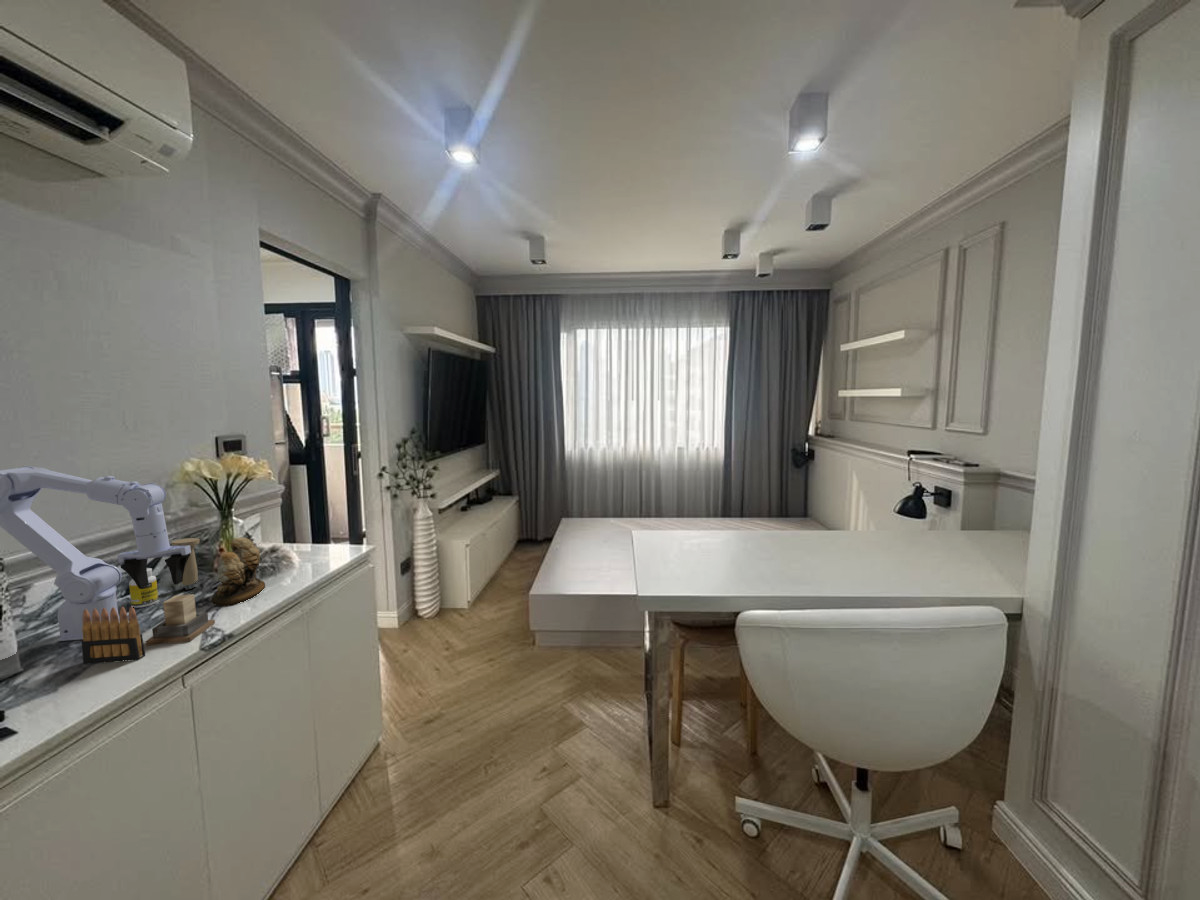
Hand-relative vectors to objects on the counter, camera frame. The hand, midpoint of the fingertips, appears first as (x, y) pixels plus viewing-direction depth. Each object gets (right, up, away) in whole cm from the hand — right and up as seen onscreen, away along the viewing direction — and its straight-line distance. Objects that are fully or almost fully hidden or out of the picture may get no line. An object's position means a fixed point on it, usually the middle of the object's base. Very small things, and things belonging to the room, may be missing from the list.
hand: (161, 585), depth 115 cm
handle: (-14, -8, +24) cm, 29 cm away
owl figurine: (+4, -9, +20) cm, 22 cm away
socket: (+9, -11, -3) cm, 14 cm away
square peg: (+9, -10, -3) cm, 14 cm away
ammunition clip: (+4, -12, -15) cm, 20 cm away
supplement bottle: (-17, -9, +13) cm, 23 cm away
